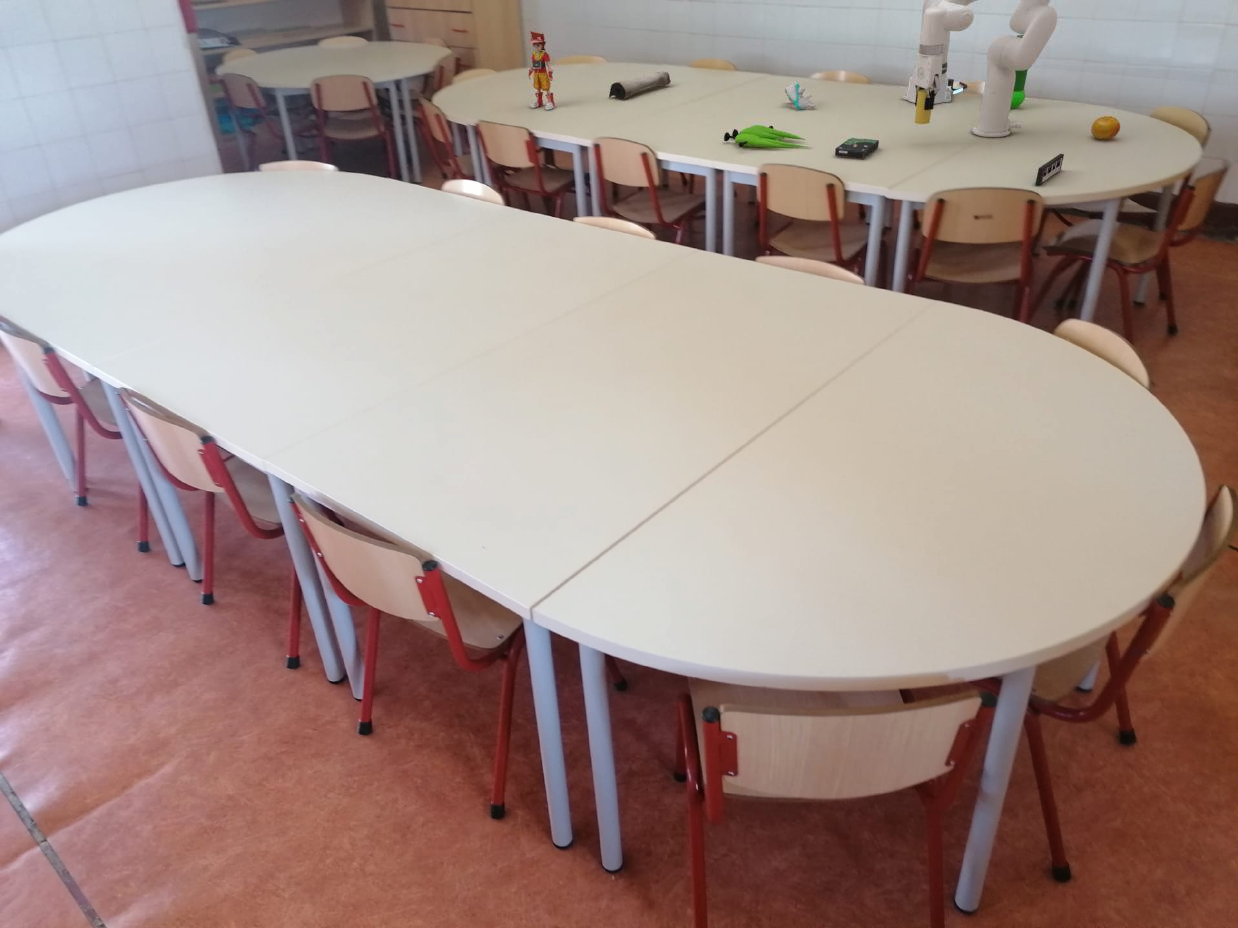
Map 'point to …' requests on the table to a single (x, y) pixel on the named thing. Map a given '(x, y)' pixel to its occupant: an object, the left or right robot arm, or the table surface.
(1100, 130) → the fruit
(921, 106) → the tin
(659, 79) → the rolled mat
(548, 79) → the toy
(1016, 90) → the green dumbbell
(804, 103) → the anatomical model
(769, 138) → the toy
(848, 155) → the disk drive
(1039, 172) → the midi keyboard
